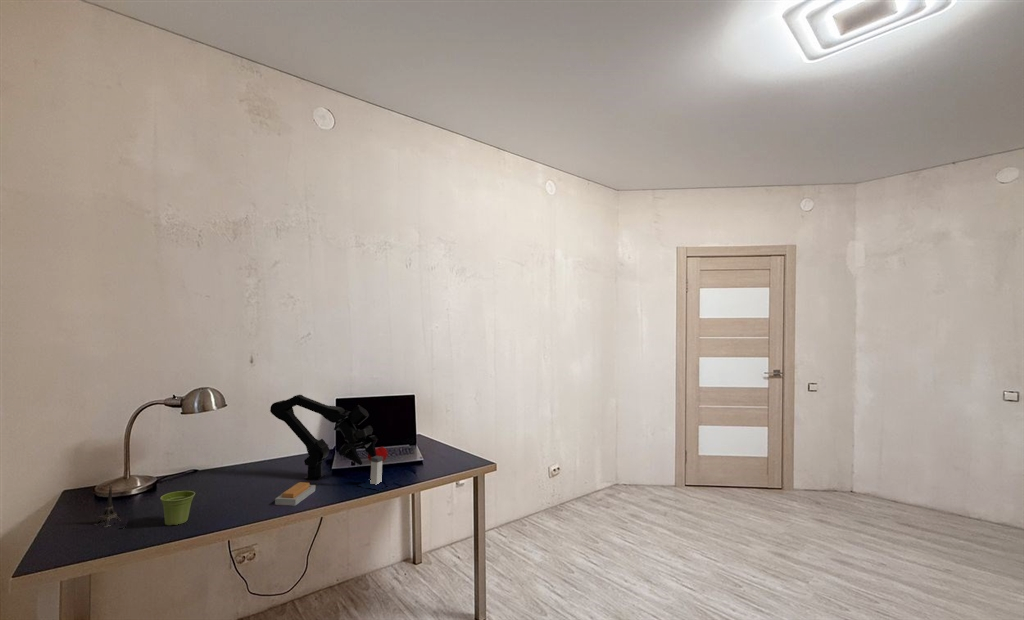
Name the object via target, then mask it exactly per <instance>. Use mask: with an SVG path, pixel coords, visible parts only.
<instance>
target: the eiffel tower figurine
mask: <svg viewBox="0 0 1024 620" xmlns="http://www.w3.org/2000/svg"><path fill="white" fill-rule="evenodd" d="M112 489H113V486H112V485H110V486H109V487H108V490H109V491H108V497H107V502H106V506H105V509H104V511H103V513H102V514H101V515H100V516H99V517H100V518H98V520H97V521H96V522H95V523H94V524H93V525H96V526H95V527H100V526H102V528H108V526H109V527H111V526H112V525H109V521H110V519H112V518H116V519H117V520H118V521H121V519H120V518H119V517H118V516H117V515H118V514H117V512H116V511H115V509H114V506H113V493H112ZM103 520H104V521H105V526H104V525H100V524H99V523H101V522H102V521H103ZM98 524H99V525H98ZM97 525H98V526H97ZM123 529H126V528H125V527H124V528H123Z"/></svg>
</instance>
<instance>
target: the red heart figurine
mask: <svg viewBox="0 0 1024 620" xmlns="http://www.w3.org/2000/svg"><path fill="white" fill-rule="evenodd" d="M375 450H376V455H377V456H382V457H383V461H382V463H383V462H385V461H386V459H387V457H388V450H387V448H385V447H384V446H380V447H378V448H375ZM367 459H368V460H369V461H370V462H371V456H370V455H369V454H368V453H367Z"/></svg>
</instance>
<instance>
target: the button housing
mask: <svg viewBox="0 0 1024 620" xmlns="http://www.w3.org/2000/svg"><path fill="white" fill-rule="evenodd" d="M316 487H317V486H316V484H309V488H308V489H306V490H305V491H303V492H302V493H301V494H299V495H298V496H296V497H295V498H282V493H281V494H279V496H277V497H276V498H274V505H275V506H293V507H294V506H296V505H298V504H299V503H300V502H302V501H303V500H305V499H306V498H308V497H309V496H311V494H313V493H315V491H316Z"/></svg>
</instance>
